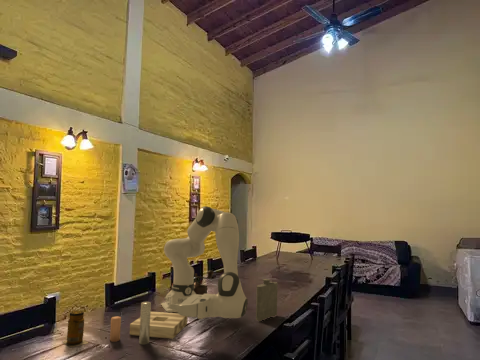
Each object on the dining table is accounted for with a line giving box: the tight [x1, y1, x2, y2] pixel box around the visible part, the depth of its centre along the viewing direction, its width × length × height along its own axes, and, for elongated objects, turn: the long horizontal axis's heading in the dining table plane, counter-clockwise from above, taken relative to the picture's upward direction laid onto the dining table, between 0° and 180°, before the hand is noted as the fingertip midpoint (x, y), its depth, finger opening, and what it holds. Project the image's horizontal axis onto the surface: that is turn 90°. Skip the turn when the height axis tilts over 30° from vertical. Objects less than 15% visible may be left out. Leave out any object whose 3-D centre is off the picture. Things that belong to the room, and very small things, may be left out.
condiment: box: [61, 310, 89, 348], centre depth 145 cm, size 7×8×12 cm
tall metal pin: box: [138, 301, 152, 345], centre depth 147 cm, size 4×4×16 cm
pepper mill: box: [194, 269, 214, 295], centre depth 216 cm, size 16×11×18 cm
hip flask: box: [255, 278, 279, 321], centre depth 185 cm, size 16×4×20 cm, turn 138°
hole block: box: [129, 311, 188, 339], centre depth 164 cm, size 20×20×4 cm
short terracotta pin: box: [109, 316, 122, 343], centre depth 149 cm, size 4×4×9 cm
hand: (174, 303), depth 146 cm, fingers open, 8 cm apart
